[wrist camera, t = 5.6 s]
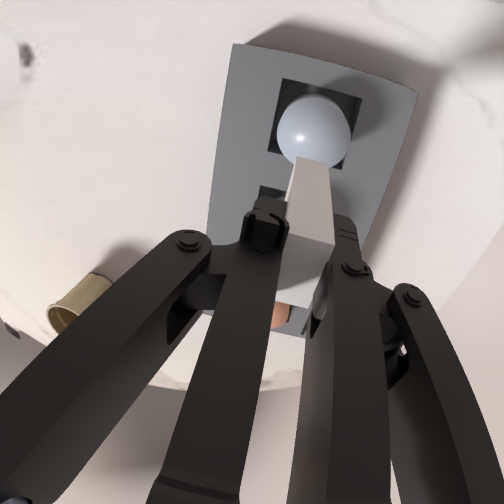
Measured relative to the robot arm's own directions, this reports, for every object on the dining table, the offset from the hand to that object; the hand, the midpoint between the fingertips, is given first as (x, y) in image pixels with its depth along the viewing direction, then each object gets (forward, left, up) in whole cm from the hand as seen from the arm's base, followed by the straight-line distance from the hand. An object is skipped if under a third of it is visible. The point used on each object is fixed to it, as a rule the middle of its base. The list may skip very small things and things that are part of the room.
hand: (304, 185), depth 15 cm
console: (+8, 0, -14) cm, 16 cm away
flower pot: (+28, -23, -14) cm, 39 cm away
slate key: (-1, 0, -11) cm, 11 cm away
